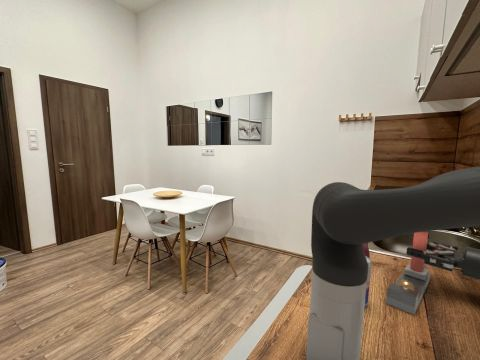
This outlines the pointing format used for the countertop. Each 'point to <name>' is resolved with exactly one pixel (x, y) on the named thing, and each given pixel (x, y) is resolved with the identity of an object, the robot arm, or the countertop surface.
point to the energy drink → (368, 280)
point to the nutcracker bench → (417, 288)
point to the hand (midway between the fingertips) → (410, 246)
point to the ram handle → (417, 264)
